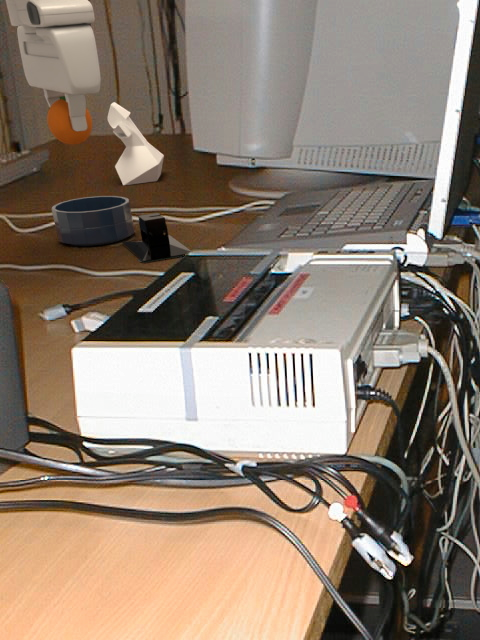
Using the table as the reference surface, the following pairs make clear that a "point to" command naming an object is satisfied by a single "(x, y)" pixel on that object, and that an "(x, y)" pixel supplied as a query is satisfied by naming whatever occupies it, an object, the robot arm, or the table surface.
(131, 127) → the white angular stand
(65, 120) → the toy tangerine
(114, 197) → the bowl
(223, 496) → the table surface
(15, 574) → the table surface
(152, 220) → the black winged block
